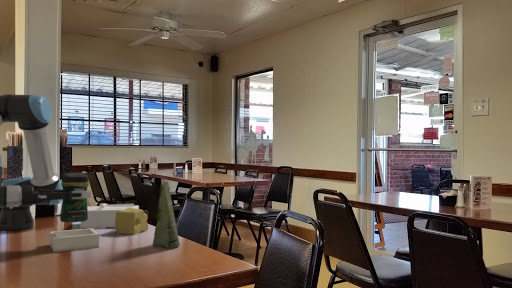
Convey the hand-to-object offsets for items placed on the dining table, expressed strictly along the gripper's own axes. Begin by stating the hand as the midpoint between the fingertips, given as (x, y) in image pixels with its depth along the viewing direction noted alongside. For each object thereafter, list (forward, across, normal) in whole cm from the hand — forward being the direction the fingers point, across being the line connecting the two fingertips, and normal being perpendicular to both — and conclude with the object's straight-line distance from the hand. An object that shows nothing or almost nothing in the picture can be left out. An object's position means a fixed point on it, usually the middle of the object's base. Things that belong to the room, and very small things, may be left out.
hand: (88, 193), depth 158 cm
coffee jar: (-5, 0, -11) cm, 12 cm away
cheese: (+21, -16, -20) cm, 33 cm away
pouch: (+25, +17, -20) cm, 36 cm away
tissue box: (+17, -38, -20) cm, 46 cm away
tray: (-5, 0, -20) cm, 20 cm away
